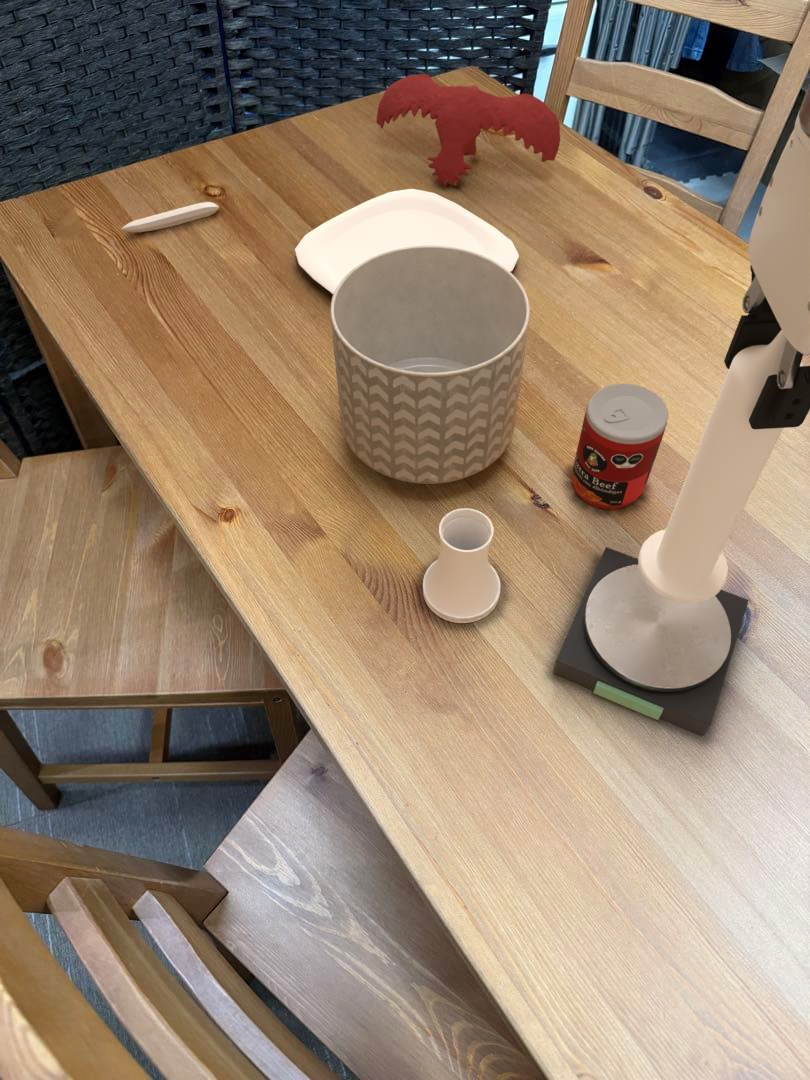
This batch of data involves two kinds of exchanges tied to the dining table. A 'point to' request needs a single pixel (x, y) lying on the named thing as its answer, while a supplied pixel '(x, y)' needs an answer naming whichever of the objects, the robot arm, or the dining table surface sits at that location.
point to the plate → (397, 234)
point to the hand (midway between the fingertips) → (761, 392)
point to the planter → (429, 361)
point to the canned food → (618, 444)
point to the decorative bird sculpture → (469, 120)
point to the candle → (715, 485)
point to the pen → (172, 217)
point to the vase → (462, 569)
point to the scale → (651, 645)
